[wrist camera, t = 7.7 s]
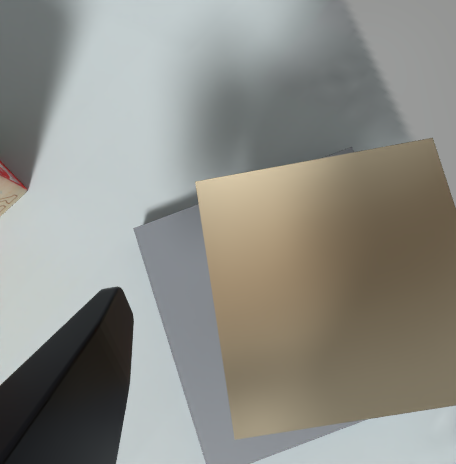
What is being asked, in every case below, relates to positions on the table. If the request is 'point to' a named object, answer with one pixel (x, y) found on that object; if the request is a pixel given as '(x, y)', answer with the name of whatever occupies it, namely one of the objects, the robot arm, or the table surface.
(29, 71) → the table surface
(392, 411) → the tower
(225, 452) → the plate
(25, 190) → the stack of blocks
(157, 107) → the table surface
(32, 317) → the table surface
